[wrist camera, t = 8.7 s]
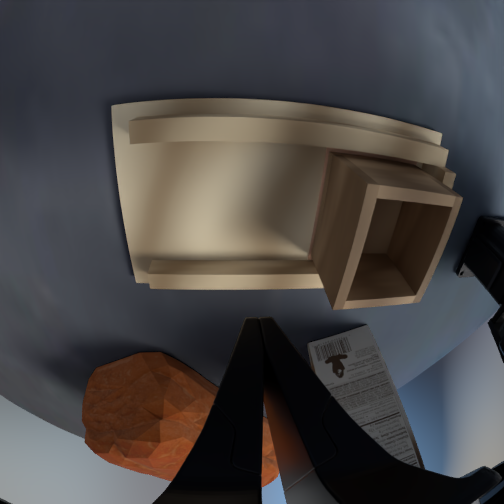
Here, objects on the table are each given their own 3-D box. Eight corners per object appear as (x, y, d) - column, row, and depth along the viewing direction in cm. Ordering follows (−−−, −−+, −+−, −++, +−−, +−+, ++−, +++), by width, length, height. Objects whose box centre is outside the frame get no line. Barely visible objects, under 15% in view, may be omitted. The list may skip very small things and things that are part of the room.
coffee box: (365, 368, 30) (405, 489, 17) (314, 384, 30) (342, 510, 17) (369, 321, 25) (430, 479, 11) (303, 341, 25) (342, 511, 12)
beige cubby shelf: (437, 131, 15) (465, 144, 12) (394, 274, 22) (410, 299, 19) (115, 104, 13) (92, 111, 10) (138, 277, 20) (128, 306, 17)
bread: (206, 442, 41) (208, 495, 33) (77, 372, 27) (58, 449, 19) (289, 423, 38) (298, 484, 29) (169, 337, 24) (157, 450, 15)
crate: (413, 164, 15) (463, 197, 11) (387, 255, 19) (419, 302, 15) (329, 151, 15) (367, 183, 11) (310, 255, 19) (332, 309, 15)
